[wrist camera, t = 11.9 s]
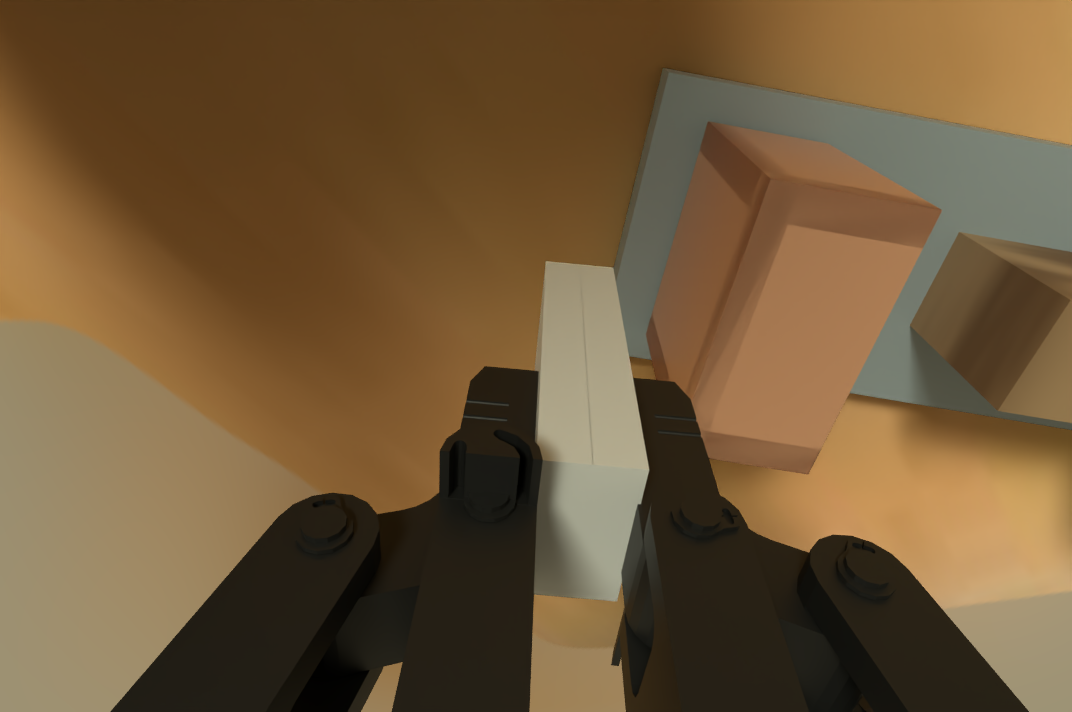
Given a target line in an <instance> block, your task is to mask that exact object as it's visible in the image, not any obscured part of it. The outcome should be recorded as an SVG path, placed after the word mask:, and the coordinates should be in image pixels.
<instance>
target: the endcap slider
mask: <svg viewBox="0 0 1072 712" xmlns="http://www.w3.org/2000/svg"><path fill="white" fill-rule="evenodd" d="M941 212H942V210H941V209H940V208H938V207H936V206H934V205H933V204H931V203H929V202H928V201H926V200H924V199H922V198H921V197H919V196H917V195H916V194H914V193H912V192H910V191H909V190H907V189H905V188H904V187H902V186H900V185H898V184H897V183H895V182H893V181H892V180H890V179H888V178H886V177H885V176H883V175H881V174H879V173H878V172H876V171H874V170H873V169H871V168H869V167H867V166H866V165H864V164H862V163H861V162H859V161H857V160H855V159H854V158H852V157H850V156H849V155H847V154H845V153H843V152H842V151H840V150H838V149H836V148H835V147H833V146H831V145H830V144H828V143H823V142H817V141H812V140H806V139H801V138H796V137H790V136H785V135H780V134H774V133H769V132H763V131H758V130H753V129H747V128H742V127H737V126H731V125H726V124H720V123H715V122H710V121H708V123H707V126H706V130H705V133H704V136H703V140H702V143H701V147H700V150H699V154H698V157H697V160H696V164H695V167H694V171H693V174H692V178H691V181H690V184H689V188H688V191H687V195H686V198H685V202H684V205H683V208H682V212H681V215H680V219H679V222H678V226H677V229H676V232H675V236H674V239H673V243H672V246H671V250H670V253H669V256H668V260H667V263H666V267H665V270H664V274H663V277H662V280H661V284H660V287H659V291H658V294H657V298H656V301H655V304H654V308H653V311H652V315H651V318H650V322H649V325H648V328H647V332H646V338H647V342H648V346H649V351H650V355H651V359H652V364H653V368H654V372H655V376H656V380H660V381H671V382H675V383H676V384H677V385H678V386H679V387H680V388H681V389H682V390H683V391H684V392H685V394H686V395H687V396H688V397H689V398H690V399H691V402H692V405H693V408H694V412H695V415H696V422H698V425H699V428H700V432H701V438H703V442H704V445H705V448H706V451H707V455H708V458H709V459H715V460H721V461H727V462H733V463H740V464H746V465H752V466H758V467H765V468H771V469H777V470H783V471H790V472H796V473H802V474H809V472H810V470H811V468H812V466H813V464H814V462H815V460H816V458H817V456H818V454H819V452H820V450H821V448H822V446H823V444H824V442H825V441H826V439H827V437H828V435H829V433H830V431H831V429H832V427H833V425H834V423H835V421H836V419H837V417H838V415H839V413H840V411H841V409H842V407H843V405H844V403H845V401H846V399H847V397H848V395H849V393H850V391H851V389H852V387H853V385H854V383H855V381H856V379H857V377H858V376H859V374H860V372H861V370H862V368H863V366H864V364H865V362H866V360H867V358H868V356H869V354H870V352H871V350H872V348H873V346H874V344H875V342H876V340H877V338H878V336H879V334H880V332H881V330H882V328H883V326H884V324H885V322H886V320H887V318H888V316H889V314H890V312H891V310H892V309H893V307H894V305H895V303H896V301H897V299H898V297H899V295H900V293H901V291H902V289H903V287H904V285H905V283H906V281H907V279H908V277H909V275H910V273H911V271H912V269H913V267H914V265H915V263H916V261H917V259H918V257H919V255H920V253H921V251H922V249H923V247H924V245H925V243H926V242H927V240H928V238H929V236H930V234H931V232H932V230H933V228H934V226H935V224H936V222H937V220H938V218H939V216H940V214H941Z"/></svg>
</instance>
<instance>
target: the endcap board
mask: <svg viewBox="0 0 1072 712" xmlns="http://www.w3.org/2000/svg"><path fill="white" fill-rule="evenodd" d="M708 121H710V122H715V123H720V124H726V125H731V126H737V127H742V128H747V129H753V130H758V131H763V132H769V133H774V134H780V135H785V136H790V137H796V138H801V139H806V140H812V141H817V142H823V143H828V144H830V145H831V146H833V147H835V148H836V149H838V150H840V151H842V152H843V153H845V154H847V155H849V156H850V157H852V158H854V159H855V160H857V161H859V162H861V163H862V164H864V165H866V166H867V167H869V168H871V169H873V170H874V171H876V172H878V173H879V174H881V175H883V176H885V177H886V178H888V179H890V180H892V181H893V182H895V183H897V184H898V185H900V186H902V187H904V188H905V189H907V190H909V191H910V192H912V193H914V194H916V195H917V196H919V197H921V198H922V199H924V200H926V201H928V202H929V203H931V204H933V205H934V206H936V207H938V208H940V209H941V210H942V212H941V214H940V216H939V218H938V220H937V222H936V224H935V226H934V228H933V230H932V232H931V234H930V236H929V238H928V240H927V242H926V243H925V245H924V247H923V249H922V251H921V253H920V255H919V257H918V259H917V261H916V263H915V265H914V267H913V269H912V271H911V273H910V275H909V277H908V279H907V281H906V283H905V285H904V287H903V289H902V291H901V293H900V295H899V297H898V299H897V301H896V303H895V305H894V307H893V309H892V310H891V312H890V314H889V316H888V318H887V320H886V322H885V324H884V326H883V328H882V330H881V332H880V334H879V336H878V338H877V340H876V342H875V344H874V346H873V348H872V350H871V352H870V354H869V356H868V358H867V360H866V362H865V364H864V366H863V368H862V370H861V372H860V374H859V376H858V377H857V379H856V381H855V383H854V385H853V387H852V389H851V391H850V393H853V394H859V395H865V396H871V397H877V398H883V399H889V400H895V401H901V402H907V403H913V404H919V405H925V406H931V407H937V408H943V409H949V410H955V411H961V412H967V413H973V414H979V415H985V416H991V417H997V418H1003V419H1009V420H1015V421H1021V422H1027V423H1033V424H1039V425H1045V426H1051V427H1057V428H1063V429H1069V430H1072V423H1068V422H1062V421H1056V420H1050V419H1044V418H1038V417H1031V416H1025V415H1019V414H1013V413H1007V412H1001V411H997V410H996V409H995V408H994V407H993V406H992V405H991V404H990V403H989V402H988V401H987V400H986V399H985V398H984V397H983V396H982V395H981V394H980V393H979V392H978V391H977V390H976V389H975V388H974V387H973V386H971V385H970V384H969V383H968V382H967V381H966V380H965V379H964V378H963V377H962V376H961V375H960V374H959V373H958V372H957V371H956V370H955V369H954V368H953V367H952V366H951V365H950V364H949V363H948V362H947V361H946V360H945V359H944V358H943V357H942V356H941V355H940V354H939V353H938V352H937V351H936V350H934V349H933V348H932V347H931V346H930V345H929V344H928V343H927V342H926V341H925V340H924V339H923V338H922V337H921V336H920V335H919V334H918V333H917V332H916V331H915V330H914V329H913V328H912V327H911V326H910V324H911V322H912V320H913V318H914V316H915V314H916V313H917V311H918V309H919V307H920V305H921V303H922V301H923V299H924V297H925V296H926V294H927V292H928V290H929V288H930V286H931V284H932V282H933V280H934V278H935V277H936V275H937V273H938V271H939V269H940V267H941V265H942V263H943V261H944V260H945V258H946V256H947V254H948V252H949V250H950V248H951V246H952V244H953V243H954V241H955V239H956V237H957V235H958V233H959V232H963V233H968V234H974V235H979V236H985V237H991V238H996V239H1002V240H1007V241H1013V242H1019V243H1024V244H1030V245H1035V246H1041V247H1047V248H1052V249H1058V250H1063V251H1069V252H1072V145H1067V144H1062V143H1057V142H1052V141H1046V140H1041V139H1036V138H1030V137H1025V136H1020V135H1015V134H1009V133H1004V132H999V131H994V130H988V129H983V128H978V127H972V126H967V125H962V124H957V123H951V122H946V121H941V120H936V119H930V118H925V117H920V116H915V115H909V114H904V113H899V112H893V111H888V110H883V109H878V108H872V107H867V106H862V105H857V104H851V103H846V102H841V101H835V100H830V99H825V98H820V97H814V96H809V95H804V94H799V93H793V92H788V91H783V90H778V89H772V88H767V87H762V86H756V85H751V84H746V83H741V82H735V81H730V80H725V79H720V78H714V77H709V76H704V75H698V74H693V73H688V72H683V71H677V70H672V69H667V68H663V70H662V74H661V78H660V82H659V86H658V90H657V94H656V98H655V102H654V106H653V110H652V114H651V118H650V122H649V126H648V131H647V135H646V139H645V143H644V147H643V151H642V155H641V159H640V163H639V167H638V171H637V175H636V179H635V183H634V187H633V191H632V195H631V199H630V203H629V207H628V212H627V216H626V220H625V224H624V228H623V232H622V236H621V240H620V244H619V248H618V252H617V256H616V260H615V264H614V268H613V269H614V275H615V280H616V286H617V292H618V297H619V303H620V308H621V314H622V320H623V325H624V331H625V337H626V342H627V348H628V353H629V356H631V357H637V358H643V359H649V360H652V359H651V355H650V351H649V346H648V342H647V338H646V332H647V328H648V325H649V322H650V318H651V315H652V311H653V308H654V304H655V301H656V298H657V294H658V291H659V287H660V284H661V280H662V277H663V274H664V270H665V267H666V263H667V260H668V256H669V253H670V250H671V246H672V243H673V239H674V236H675V232H676V229H677V226H678V222H679V219H680V215H681V212H682V208H683V205H684V202H685V198H686V195H687V191H688V188H689V184H690V181H691V178H692V174H693V171H694V167H695V164H696V160H697V157H698V154H699V150H700V147H701V143H702V140H703V136H704V133H705V130H706V126H707V123H708Z"/></svg>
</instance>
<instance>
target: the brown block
mask: <svg viewBox="0 0 1072 712" xmlns="http://www.w3.org/2000/svg"><path fill="white" fill-rule="evenodd" d="M910 326H911V327H912V328H913V329H914V330H915V331H916V332H917V333H918V334H919V335H920V336H921V337H922V338H923V339H924V340H925V341H926V342H927V343H928V344H929V345H930V346H931V347H932V348H933V349H934V350H936V351H937V352H938V353H939V354H940V355H941V356H942V357H943V358H944V359H945V360H946V361H947V362H948V363H949V364H950V365H951V366H952V367H953V368H954V369H955V370H956V371H957V372H958V373H959V374H960V375H961V376H962V377H963V378H964V379H965V380H966V381H967V382H968V383H969V384H970V385H971V386H973V387H974V388H975V389H976V390H977V391H978V392H979V393H980V394H981V395H982V396H983V397H984V398H985V399H986V400H987V401H988V402H989V403H990V404H991V405H992V406H993V407H994V408H995V409H996V410H997V411H1001V412H1007V413H1013V414H1019V415H1025V416H1031V417H1038V418H1044V419H1050V420H1056V421H1062V422H1068V423H1072V252H1069V251H1063V250H1058V249H1052V248H1047V247H1041V246H1035V245H1030V244H1024V243H1019V242H1013V241H1007V240H1002V239H996V238H991V237H985V236H979V235H974V234H968V233H963V232H959V233H958V235H957V237H956V239H955V241H954V243H953V244H952V246H951V248H950V250H949V252H948V254H947V256H946V258H945V260H944V261H943V263H942V265H941V267H940V269H939V271H938V273H937V275H936V277H935V278H934V280H933V282H932V284H931V286H930V288H929V290H928V292H927V294H926V296H925V297H924V299H923V301H922V303H921V305H920V307H919V309H918V311H917V313H916V314H915V316H914V318H913V320H912V322H911V324H910Z"/></svg>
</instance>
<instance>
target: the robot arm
mask: <svg viewBox="0 0 1072 712" xmlns="http://www.w3.org/2000/svg"><path fill="white" fill-rule="evenodd" d="M621 583H622V586H623V595H624V605H625V608H624V612H623V616H622V619H621V623H620V627H619V631H618V635H617V639H616V643H615V647H614V651H613V658H612V664H611V665H615V666H619V663H620V659H621V660H622V671H623V682H624V694H625V706H626V712H1029V711H1028V710H1027V709H1026V708H1025V706H1024V705H1023V704H1022V703H1021V702H1020V700H1019V699H1018V698H1017V697H1016V696H1015V695H1014V694H1013V692H1012V691H1011V690H1010V689H1009V687H1008V686H1007V685H1006V684H1005V683H1004V682H1003V681H1002V679H1001V678H1000V677H999V676H998V675H997V673H996V672H995V671H994V670H993V669H992V668H991V666H990V665H989V664H988V663H987V662H986V660H985V659H984V658H983V657H982V656H981V654H980V653H979V652H978V651H977V650H976V649H975V648H974V646H973V645H972V644H971V643H970V642H969V640H968V639H967V638H966V637H965V636H964V635H963V633H962V632H961V631H960V630H959V629H958V627H956V625H955V624H954V623H953V621H952V620H951V619H950V618H949V617H948V616H947V615H946V613H945V612H944V611H943V610H942V609H941V607H940V606H939V605H938V604H937V603H936V601H935V600H934V599H933V598H932V597H931V596H930V594H929V593H928V592H927V591H926V590H925V588H924V587H923V586H922V585H921V584H920V583H919V581H918V580H917V579H916V578H915V577H914V576H913V574H912V573H911V572H910V571H909V570H908V569H907V568H906V567H905V566H904V565H903V564H902V563H901V562H900V561H899V560H898V559H897V558H895V557H894V556H893V555H892V554H891V553H889V552H887V551H886V550H884V549H882V548H881V547H879V546H877V545H875V544H874V543H872V542H869V541H866V540H863V539H860V538H857V537H854V536H846V535H831V536H828V537H825V538H822V539H819V540H818V541H817V542H816V544H815V545H814V546H813V547H812V549H811V550H810V552H809V553H808V552H805V551H802V550H799V549H796V548H793V547H790V546H787V545H784V544H781V543H778V542H775V541H772V540H770V539H768V538H765V537H763V536H761V535H758V534H756V533H755V532H753V531H751V530H750V529H748V526H747V524H746V522H745V520H744V519H743V517H742V515H741V513H740V512H739V510H738V509H737V508H736V507H735V506H733V505H732V504H731V503H730V502H729V501H728V500H727V499H725V498H724V497H722V496H720V494H719V491H718V488H717V484H716V481H715V478H714V475H713V471H712V468H711V465H710V461H709V458H708V455H707V451H706V448H705V445H704V442H703V438H701V432H700V428H699V425H698V422H696V415H695V412H694V408H693V405H692V402H691V399H690V398H689V397H688V396H687V395H686V394H685V392H684V391H683V390H682V389H681V388H680V387H679V386H678V385H677V384H676V383H675V382H671V381H660V380H650V379H639V378H633V376H632V370H631V365H630V359H629V353H628V348H627V342H626V337H625V331H624V325H623V320H622V314H621V308H620V303H619V297H618V292H617V286H616V280H615V275H614V269H613V267H602V266H592V265H581V264H571V263H560V262H550V261H546V264H545V274H544V283H543V293H542V303H541V312H540V322H539V331H538V341H537V350H536V360H535V371H531V370H520V369H509V368H498V367H487V366H485V367H484V368H483V369H482V370H481V371H480V372H479V373H478V374H477V375H476V376H475V377H474V378H473V379H472V380H471V381H470V386H469V391H468V395H467V401H466V405H465V409H464V414H463V419H462V423H461V428H460V430H458V431H457V432H455V433H454V434H452V435H451V436H450V437H448V438H447V439H446V441H445V443H444V444H443V446H442V448H441V450H440V485H439V493H438V494H437V495H436V496H434V497H433V498H432V499H430V500H429V501H427V502H425V503H423V504H420V505H418V506H416V507H412V508H408V509H405V510H400V511H394V512H388V513H382V514H376V512H375V511H374V510H373V509H372V507H371V506H370V505H369V504H368V503H367V502H365V501H363V500H361V499H359V498H357V497H355V496H353V495H347V494H339V493H329V494H322V495H316V496H311V497H309V498H307V499H305V500H302V501H300V502H298V503H296V504H293V505H292V506H291V507H290V508H288V509H287V510H286V511H285V512H284V513H283V514H281V515H280V516H279V517H278V518H277V519H276V520H275V521H274V522H273V524H272V525H271V526H270V527H269V528H268V529H267V531H266V532H265V533H264V534H263V535H262V536H261V538H260V539H259V540H258V541H257V542H256V544H254V546H253V547H252V548H251V549H250V550H249V552H248V553H247V554H246V555H245V556H244V557H243V558H242V560H241V561H240V562H239V563H238V564H237V565H236V567H235V568H234V569H233V570H232V571H231V572H230V574H229V575H228V576H227V577H226V578H225V579H224V581H223V582H222V583H221V584H220V585H219V586H218V588H217V589H216V590H215V591H214V592H213V593H212V595H211V596H210V597H209V598H208V599H207V600H206V601H205V603H204V604H203V605H202V606H201V607H200V608H199V610H198V611H197V612H196V613H195V614H194V615H193V616H192V618H191V619H190V620H189V621H188V622H187V623H186V625H185V626H184V627H183V628H182V629H181V630H180V632H179V633H178V634H177V635H176V636H175V638H174V639H173V640H172V641H171V642H170V643H169V644H168V645H167V647H166V648H165V649H164V650H163V651H162V653H161V654H160V655H159V656H158V657H157V658H156V659H155V661H154V662H153V663H152V664H151V665H150V666H149V668H148V669H147V670H146V671H145V672H144V673H143V675H142V676H141V677H140V678H139V679H138V680H137V681H136V683H135V684H134V685H133V686H132V687H131V688H130V690H129V691H128V692H127V693H126V694H125V696H124V697H123V698H122V699H121V700H120V701H119V702H118V704H117V705H116V706H115V707H114V708H113V709H112V711H111V712H361V710H362V708H363V706H364V704H365V703H366V701H367V699H368V697H369V695H370V693H371V691H372V689H373V687H374V685H375V683H376V681H377V679H378V677H379V675H380V674H381V672H382V669H383V666H387V665H392V664H396V663H400V662H403V664H402V668H401V673H400V677H399V682H398V686H397V691H396V695H395V700H394V704H393V708H392V712H529V706H530V679H531V654H532V653H531V652H532V627H533V601H534V594H536V595H547V596H559V597H571V598H583V599H594V600H606V601H617V599H618V595H619V591H620V587H621Z"/></svg>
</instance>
